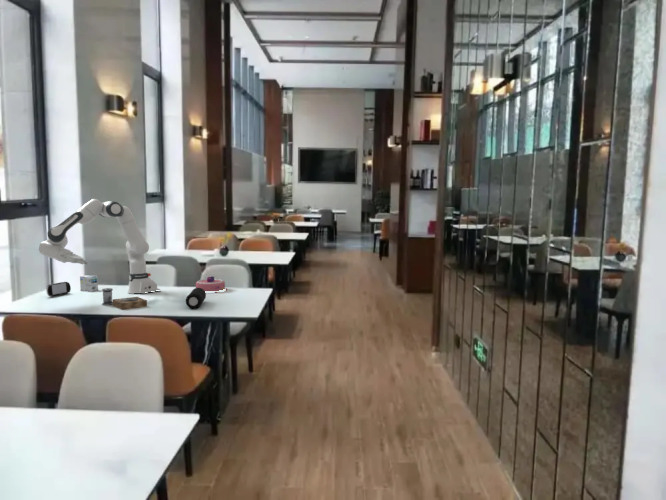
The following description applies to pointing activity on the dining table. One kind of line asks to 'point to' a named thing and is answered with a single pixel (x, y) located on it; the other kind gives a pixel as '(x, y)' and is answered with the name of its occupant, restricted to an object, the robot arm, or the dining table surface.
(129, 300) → the stand
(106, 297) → the cylinder
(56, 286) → the gaming console
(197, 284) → the cake
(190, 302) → the portable speaker
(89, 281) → the light bulb box
